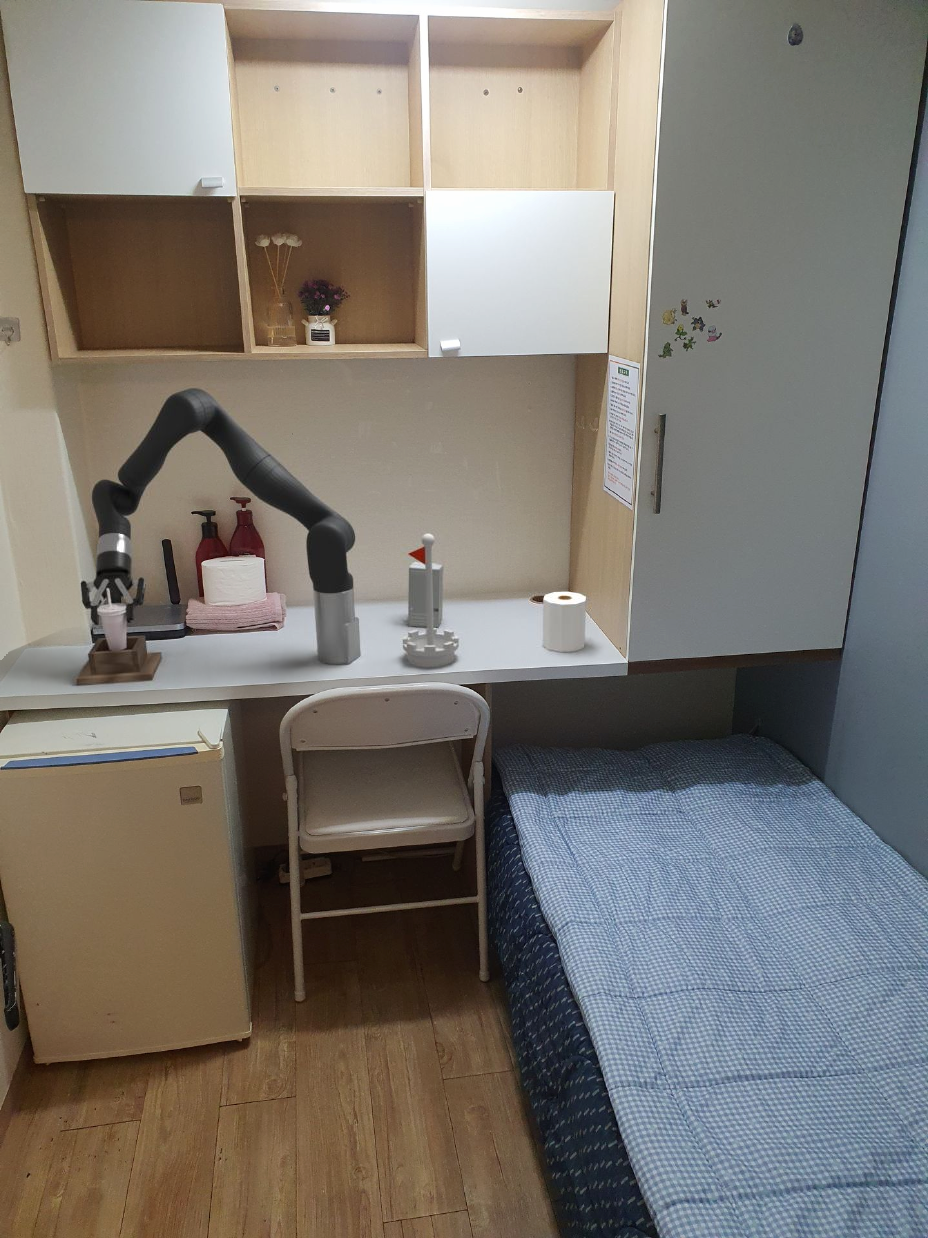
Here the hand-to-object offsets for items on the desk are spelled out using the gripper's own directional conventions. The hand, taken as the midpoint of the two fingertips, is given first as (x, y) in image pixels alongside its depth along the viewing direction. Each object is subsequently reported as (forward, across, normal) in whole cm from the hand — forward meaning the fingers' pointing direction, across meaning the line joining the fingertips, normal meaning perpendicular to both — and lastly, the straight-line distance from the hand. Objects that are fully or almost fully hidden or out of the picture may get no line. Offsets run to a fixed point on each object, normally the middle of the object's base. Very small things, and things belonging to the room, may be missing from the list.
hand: (112, 622), depth 202 cm
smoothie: (+4, 0, +6) cm, 7 cm away
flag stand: (+13, +71, +4) cm, 72 cm away
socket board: (+8, 0, +10) cm, 12 cm away
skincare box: (-5, +74, +22) cm, 77 cm away
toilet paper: (+12, +104, +6) cm, 105 cm away
